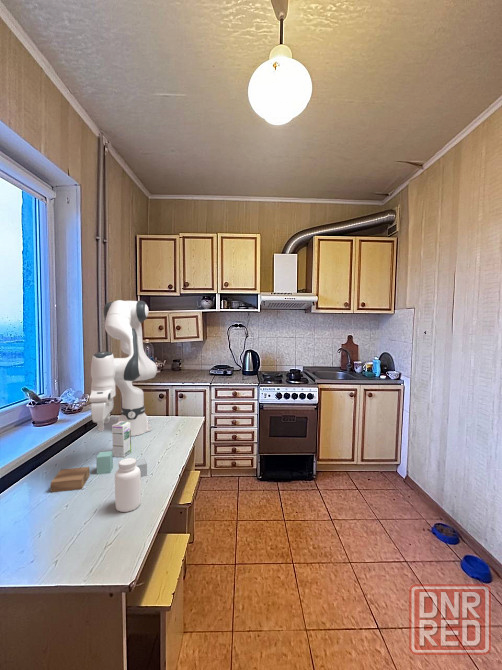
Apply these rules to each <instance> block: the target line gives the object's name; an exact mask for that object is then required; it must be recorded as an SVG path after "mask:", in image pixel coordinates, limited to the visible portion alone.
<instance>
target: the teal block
mask: <svg viewBox="0 0 502 670" xmlns="http://www.w3.org/2000/svg"><path fill="white" fill-rule="evenodd" d="M113 457H114V456H113V450H109V451H108V450H107V451H99V452H98V454H97V455H96V475H106V474H111V473H112V470H113V468H114V462H113V461H114V460H113V459H114V458H113Z"/></svg>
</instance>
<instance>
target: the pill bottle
mask: <svg viewBox="0 0 502 670" xmlns="http://www.w3.org/2000/svg"><path fill="white" fill-rule="evenodd" d="M136 460H137V459H136V458H134V457H127V458H124V459H121V460H120V461H119V462H118V469H117V470H116V471H115V473H114V495H115V498H114V499H115V501H114V502H115V503H114V504H115V509H116V510H117V511H118V512H121V513H125V512H126V513H127V512H131V511H133V510H137V508H139V507H140V506H141V504H142V483H141V481H142V480H141V479H142V477H141V473H140V469H139V468H138V467H137V466H136Z"/></svg>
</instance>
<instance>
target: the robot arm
mask: <svg viewBox="0 0 502 670" xmlns="http://www.w3.org/2000/svg"><path fill="white" fill-rule="evenodd" d="M149 309H150V308H149V307H148V304H147V303H146V302H145V301H143V300H122V299H118V300H114V301H110V302H107V303H105V304H104V306H103V310H102V311H103V316H104V319H105V320H104V321H105V322H104V329H105V331H106V333H107V335H109V336H110V337H111V338H112V339H115V340H119V341H120V349H121V351H122V352H123V353H124V354H126V355H128V356H127V357H114V353H113V352H111V351H98V352H96V353H94V354H92V357H91V358H92V359H91V361H90V362H91V363H90V365H91V366H90V377H91V385H90V387H91V388H90V395H89V398H88V400H89V401H88V402H89V403H91V404H90V410H91V411H90V412H91V419H92V422H93V423H96V424H97V429H98V431H99V432H103V431H104V430H105V425H104V424H109V422H110V417H111V412H112V411H113V410H114V405H115V403H114V397H116V394H117V393H116V387H118V389H119V391H120V394H121V404H122V405H121V412H120V413H121V415H120V416H119V417H118V422H120V421H127V422H130V425H131V437H135V436H139V435H140V436H141V435H143V434H145V433H147V432H151V431H152V426H151V424H150V422H149V421H148V415H147V414H146V412H145V411H146V407H145V404H144V403H145V400H144V399H145V398H144V397H145V396H144V390H143V389H142V388H140V387H137V386H135V385H133V382H138V381H139V382H140V381H147V380H150V379H154V378H155V377H156V375H157V373H158V366H157V365H156V363H155V362H154V361H153V360H152V359H150V358H149V357H148V356H147V354H146V352H145V350H144V343H143V341H144V340H143V328H142V324H143V323H144V321H146V320H147V318H148V317H149V311H150V310H149ZM118 422H117V423H118Z"/></svg>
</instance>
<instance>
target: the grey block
mask: <svg viewBox="0 0 502 670" xmlns="http://www.w3.org/2000/svg"><path fill="white" fill-rule="evenodd" d="M146 460H147V459H146V458H142V459H136V466H137V467H138V468H139V469H140V473H141V478H143V477H147V476H148V463H147V461H146Z"/></svg>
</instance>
